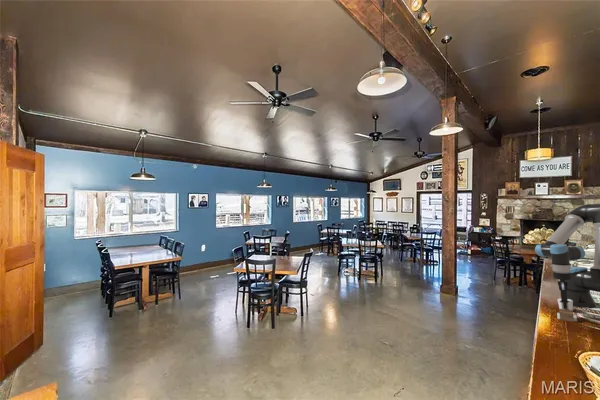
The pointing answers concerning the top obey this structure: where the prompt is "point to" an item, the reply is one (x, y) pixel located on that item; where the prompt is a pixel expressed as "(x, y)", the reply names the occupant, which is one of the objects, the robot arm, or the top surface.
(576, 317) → the board
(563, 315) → the housing
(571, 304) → the white cup
